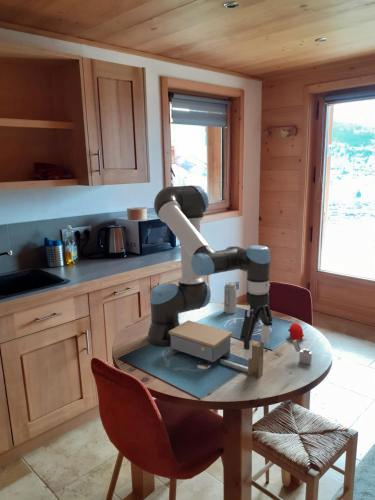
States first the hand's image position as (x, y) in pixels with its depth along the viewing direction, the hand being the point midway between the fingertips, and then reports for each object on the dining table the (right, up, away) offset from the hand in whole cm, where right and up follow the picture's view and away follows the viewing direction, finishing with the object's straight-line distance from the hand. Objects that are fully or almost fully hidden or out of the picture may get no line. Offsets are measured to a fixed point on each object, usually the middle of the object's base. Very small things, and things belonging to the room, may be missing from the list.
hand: (256, 349), depth 134 cm
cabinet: (-19, -7, +17) cm, 26 cm away
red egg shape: (+22, -3, +31) cm, 38 cm away
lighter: (+19, -7, +11) cm, 23 cm away
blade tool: (-5, -9, +6) cm, 12 cm away
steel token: (-18, -9, +9) cm, 22 cm away
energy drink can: (-3, +3, +60) cm, 61 cm away
